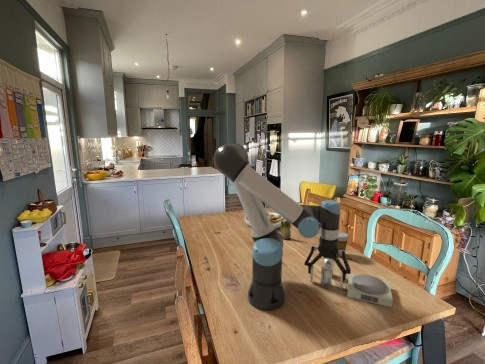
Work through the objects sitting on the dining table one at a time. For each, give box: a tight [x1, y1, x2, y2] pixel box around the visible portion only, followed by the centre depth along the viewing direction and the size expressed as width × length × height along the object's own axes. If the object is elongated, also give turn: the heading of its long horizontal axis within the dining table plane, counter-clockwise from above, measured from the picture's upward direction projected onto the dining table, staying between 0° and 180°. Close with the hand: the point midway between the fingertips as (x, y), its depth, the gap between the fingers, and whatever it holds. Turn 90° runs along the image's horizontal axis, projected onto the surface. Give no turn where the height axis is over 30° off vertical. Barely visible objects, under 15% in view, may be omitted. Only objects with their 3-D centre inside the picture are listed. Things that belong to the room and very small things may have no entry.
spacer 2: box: [320, 266, 333, 289], centre depth 113 cm, size 4×4×8 cm
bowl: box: [244, 210, 287, 229], centre depth 190 cm, size 30×30×8 cm
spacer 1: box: [322, 257, 335, 278], centre depth 121 cm, size 4×4×8 cm
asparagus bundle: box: [280, 220, 292, 240], centre depth 162 cm, size 6×5×12 cm
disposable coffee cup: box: [337, 230, 350, 258], centre depth 141 cm, size 10×10×12 cm
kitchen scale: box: [346, 273, 394, 308], centre depth 108 cm, size 14×16×4 cm
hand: (325, 283), depth 113 cm, fingers open, 12 cm apart
